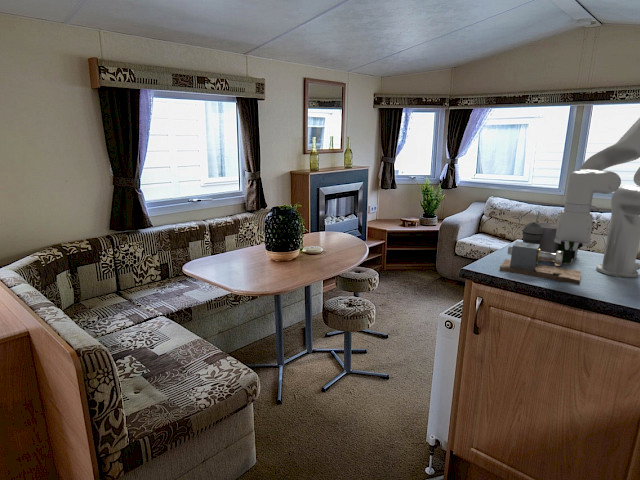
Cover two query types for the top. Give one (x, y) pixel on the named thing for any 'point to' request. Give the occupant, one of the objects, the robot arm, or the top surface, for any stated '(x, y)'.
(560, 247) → the beer can
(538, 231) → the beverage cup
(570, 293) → the top surface
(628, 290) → the top surface
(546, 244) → the pillar candle
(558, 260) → the shaft
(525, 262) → the machine model
